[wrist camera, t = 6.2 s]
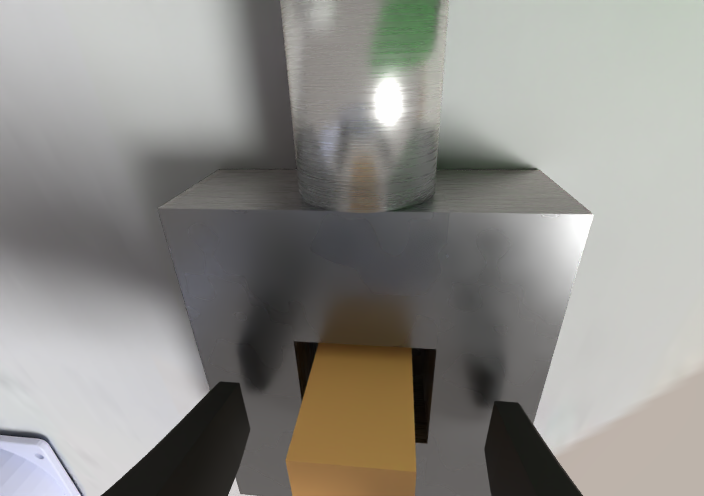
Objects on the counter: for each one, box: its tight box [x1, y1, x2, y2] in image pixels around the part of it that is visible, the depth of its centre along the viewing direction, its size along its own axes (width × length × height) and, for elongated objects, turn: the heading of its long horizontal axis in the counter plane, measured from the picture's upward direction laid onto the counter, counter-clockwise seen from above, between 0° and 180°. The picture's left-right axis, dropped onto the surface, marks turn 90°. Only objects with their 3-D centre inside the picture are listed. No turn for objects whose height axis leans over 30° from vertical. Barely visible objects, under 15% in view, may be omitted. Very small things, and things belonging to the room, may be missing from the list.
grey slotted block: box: [157, 0, 594, 496], centre depth 12 cm, size 17×11×4 cm, turn 2°
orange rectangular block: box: [285, 343, 416, 496], centre depth 11 cm, size 3×3×6 cm
